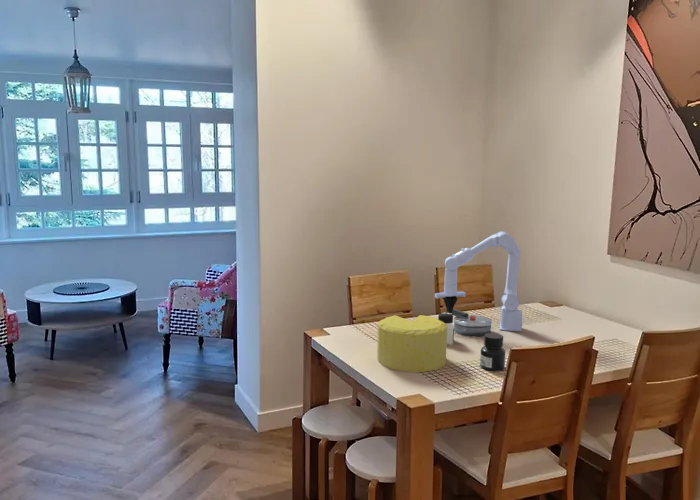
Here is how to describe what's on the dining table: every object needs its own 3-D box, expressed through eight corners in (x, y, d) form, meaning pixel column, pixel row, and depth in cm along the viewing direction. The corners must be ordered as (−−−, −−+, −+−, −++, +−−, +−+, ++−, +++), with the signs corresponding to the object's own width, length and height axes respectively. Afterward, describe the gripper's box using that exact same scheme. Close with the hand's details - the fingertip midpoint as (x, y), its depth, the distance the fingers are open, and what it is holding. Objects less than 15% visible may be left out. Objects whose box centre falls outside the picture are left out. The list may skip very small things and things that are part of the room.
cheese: (402, 344, 247) (403, 309, 245) (458, 358, 231) (460, 321, 228) (363, 360, 227) (364, 322, 225) (421, 377, 211) (423, 336, 208)
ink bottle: (476, 362, 226) (478, 332, 224) (499, 362, 227) (501, 331, 225) (484, 372, 217) (485, 340, 215) (508, 371, 217) (510, 339, 215)
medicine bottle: (453, 344, 248) (454, 316, 246) (435, 343, 249) (436, 315, 247) (453, 339, 254) (454, 312, 253) (436, 338, 256) (437, 311, 254)
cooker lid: (499, 324, 263) (499, 318, 262) (469, 329, 255) (470, 323, 255) (467, 312, 282) (467, 307, 282) (438, 316, 275) (439, 310, 274)
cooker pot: (490, 338, 257) (491, 329, 257) (453, 335, 261) (453, 326, 260) (490, 325, 277) (490, 316, 277) (455, 322, 281) (455, 314, 280)
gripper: (460, 280, 277) (459, 309, 279) (432, 282, 273) (431, 311, 275) (468, 284, 271) (466, 313, 273) (439, 285, 266) (437, 315, 268)
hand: (449, 312), depth 273 cm, fingers closed
